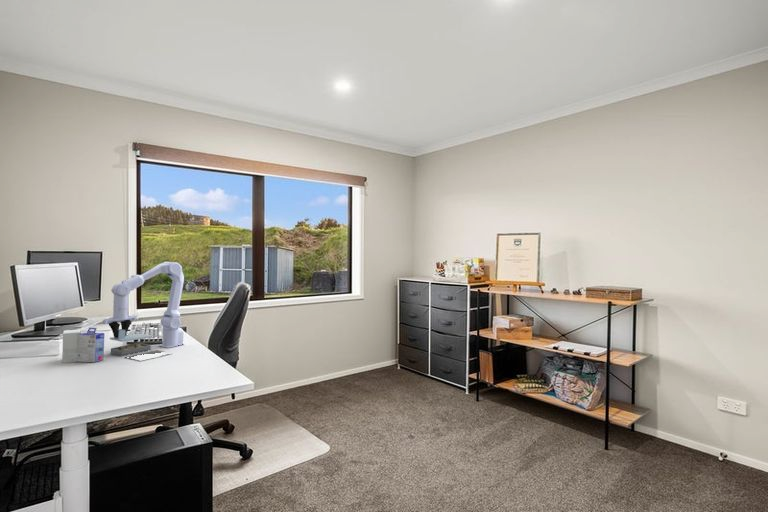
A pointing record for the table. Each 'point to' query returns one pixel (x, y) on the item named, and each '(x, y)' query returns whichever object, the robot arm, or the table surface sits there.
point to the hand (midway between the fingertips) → (120, 336)
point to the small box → (69, 345)
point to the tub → (130, 349)
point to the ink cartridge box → (90, 346)
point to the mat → (146, 353)
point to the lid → (129, 336)
